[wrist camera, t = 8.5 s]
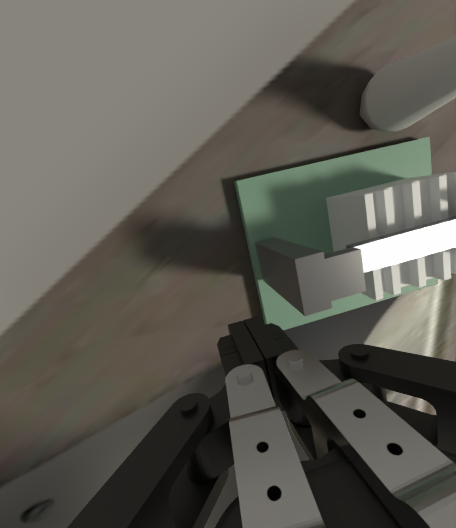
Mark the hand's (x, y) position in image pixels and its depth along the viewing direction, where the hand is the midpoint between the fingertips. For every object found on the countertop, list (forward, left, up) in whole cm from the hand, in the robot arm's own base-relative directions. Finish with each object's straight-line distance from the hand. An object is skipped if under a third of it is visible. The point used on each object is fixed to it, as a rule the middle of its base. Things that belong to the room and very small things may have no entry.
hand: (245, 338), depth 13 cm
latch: (0, -7, -14) cm, 16 cm away
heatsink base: (0, -15, -16) cm, 22 cm away
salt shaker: (+12, -20, -16) cm, 28 cm away
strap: (0, -17, -8) cm, 18 cm away
